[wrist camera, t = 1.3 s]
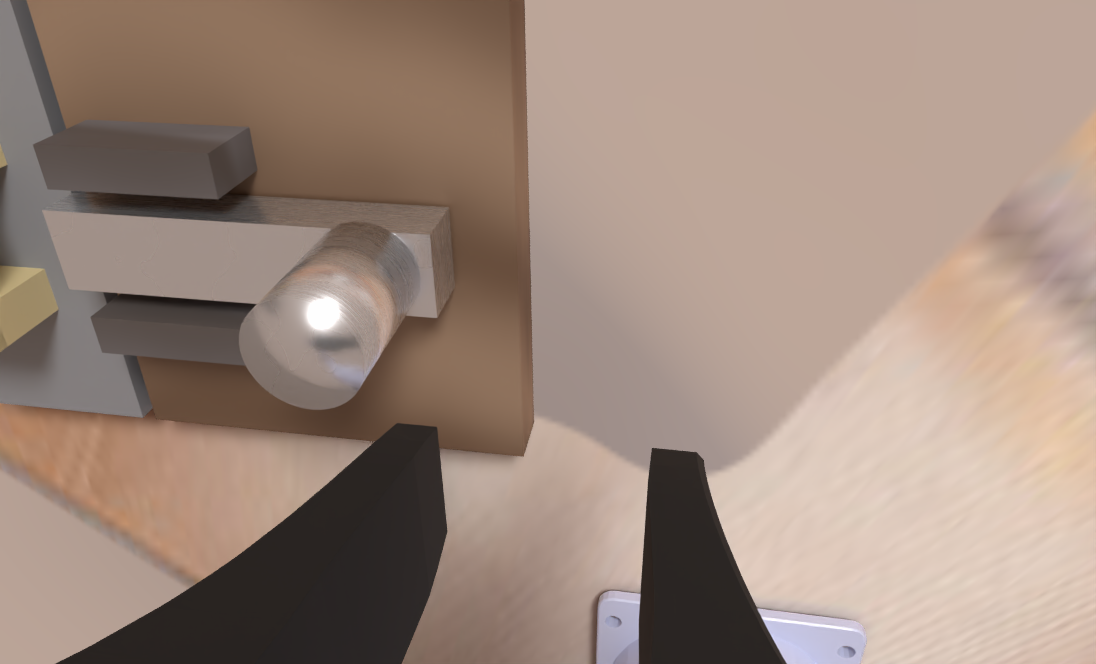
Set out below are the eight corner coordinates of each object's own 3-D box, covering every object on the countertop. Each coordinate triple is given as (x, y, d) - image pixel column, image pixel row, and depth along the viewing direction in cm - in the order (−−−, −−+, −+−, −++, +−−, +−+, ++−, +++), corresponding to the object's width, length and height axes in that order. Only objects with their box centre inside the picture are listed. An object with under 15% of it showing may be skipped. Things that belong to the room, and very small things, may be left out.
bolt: (455, 293, 20) (387, 416, 16) (110, 269, 21) (-37, 375, 17) (448, 199, 19) (372, 304, 14) (82, 178, 20) (-85, 269, 16)
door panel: (534, 422, 23) (509, 503, 21) (184, 389, 25) (118, 459, 22) (523, -46, 17) (486, -22, 14) (60, -51, 19) (-53, -30, 16)
